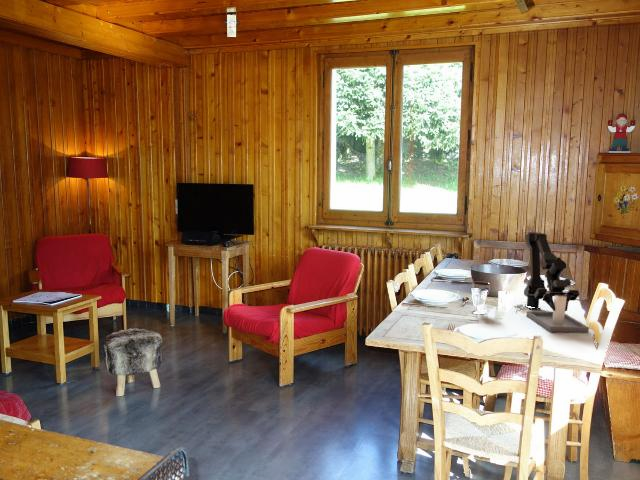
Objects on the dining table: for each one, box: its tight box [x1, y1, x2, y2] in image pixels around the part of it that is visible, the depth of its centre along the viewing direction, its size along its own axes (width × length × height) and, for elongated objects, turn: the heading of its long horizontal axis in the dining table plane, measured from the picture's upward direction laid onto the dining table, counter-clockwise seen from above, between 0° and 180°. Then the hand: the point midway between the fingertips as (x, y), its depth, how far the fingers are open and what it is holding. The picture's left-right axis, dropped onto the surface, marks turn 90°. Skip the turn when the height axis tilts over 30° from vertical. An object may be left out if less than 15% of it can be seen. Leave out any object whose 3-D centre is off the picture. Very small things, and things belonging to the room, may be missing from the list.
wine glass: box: [471, 280, 491, 316], centre depth 280 cm, size 8×8×15 cm
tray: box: [525, 310, 590, 334], centre depth 267 cm, size 24×18×2 cm
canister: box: [552, 295, 567, 325], centre depth 260 cm, size 5×5×13 cm
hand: (560, 310), depth 258 cm, fingers closed on canister, 5 cm apart
